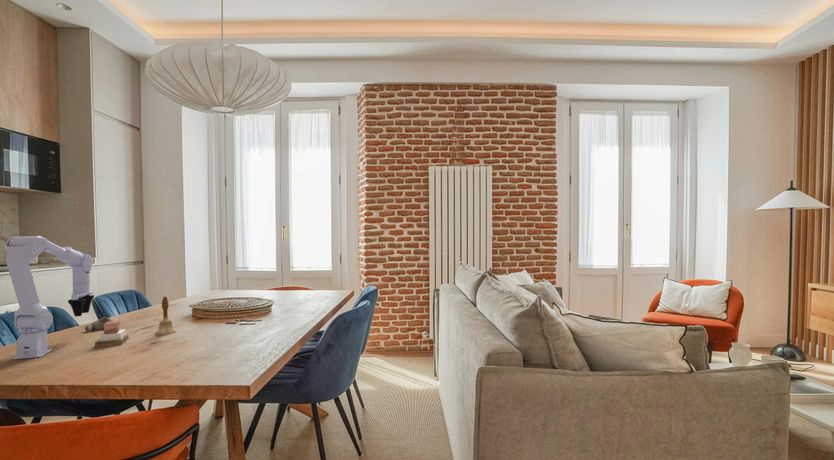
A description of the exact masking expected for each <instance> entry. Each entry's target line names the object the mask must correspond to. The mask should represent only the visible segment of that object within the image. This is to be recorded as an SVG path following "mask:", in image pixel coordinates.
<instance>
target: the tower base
mask: <svg viewBox="0 0 834 460" xmlns="http://www.w3.org/2000/svg"><path fill="white" fill-rule="evenodd" d="M128 340H129V334H126V335H125V336H124V337H123V338H122V339H118V340H108V341H100V338H99V339H97V340H96V341H94V347H95V348H98V347H100V346H101V347H110V346H120V345H124V344H125V343H126V342H127V341H128Z"/></svg>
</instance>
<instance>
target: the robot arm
mask: <svg viewBox="0 0 834 460" xmlns="http://www.w3.org/2000/svg"><path fill="white" fill-rule="evenodd" d="M3 247H4V250H5V253H6V260H5V261H6V263H5V264H6V266H7V270H8V273H9V276H10V279H11V282H12V286H13V289H14V293H15V296H16V299H17V303H18V306H19V308H17V310H15V311H14V313H13V316H14V321H13V324H14V327H15V328H16V329H17V330H18V333H20V336H19V337H18V338H17V339H16V343H15V346H16V347H15V348H16V349H15V350H16V351H15V353H16V356H15V357H13V358H12V360H23V359H33V358H40V357H41V358H42V357H43V356H45V355H47V354H48V353H50V352H51V351H53V348H48V330H49V329H50V327H51V326H52V325H53V322H54V321H53V320H54V317H53V315H52V314H51V312H50V311H49V309H48V307H47V306H46V305H44V304H42V303H41V302H40V299H39V295H38V292H37V289H36V285H35V282H34V278H33V275H32V271H31V268H30V267H31V266H30V263H31V261H33V260H35V259H36V258H37V257H38V256H39V255H41V254H42V253H43V252H45V253H48V254H50V255H54V256H55V258H56V259H57V260H59V261H61V262H64V263H65V264H68V266H69V267H70V268H71V271H72V276H71V277H72V293H71V299H68V300H67V302H68V304H69V305H70V307H71V309H72V313H73V315H74V317H76V318H77V317H82V315H83V314H88V313H90V312H89V311H90V308H91V305H92V302H93V300H94V298H95V294H94V291H91V277H90V276H91V274H90V273H91V270H92V266H93V264H94V259H93V257H92V256H91V255H90V254H89V253H82V252H81V251H79V250H76V249H73V247H72V246H63V247H62V246H59V245H57V244H55V243H53V242H52V241H49V240H48V238H46V237H43V236H41V235H31V236H29V235H27V236H24V235H23V236H22V235H21V236H18V235H14V236H11V237H9V238H8V239H7V240H6V242H5V243H4V245H3Z"/></svg>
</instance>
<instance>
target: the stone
mask: <svg viewBox="0 0 834 460" xmlns="http://www.w3.org/2000/svg"><path fill="white" fill-rule="evenodd" d="M112 321H113V320H112V319H111V318H109V317H106V316H102V317H101V318H100V319H98V320H96V321H94V322H92V323H91V324H89V325H85V327H84V330H85V332H87V333H90V332H91V331H100V329H101V330H104V324H105V323H106V322H112Z"/></svg>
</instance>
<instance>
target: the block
mask: <svg viewBox="0 0 834 460" xmlns="http://www.w3.org/2000/svg"><path fill="white" fill-rule="evenodd" d="M120 323H121V322H120V320H112V322H106V323H105V324H104V329H103V332H104V334H111V333H118V332H119V331H120V330H121V327H120V326H121V325H120Z"/></svg>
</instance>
